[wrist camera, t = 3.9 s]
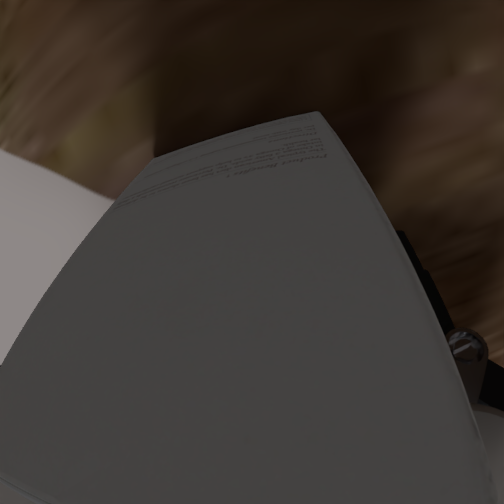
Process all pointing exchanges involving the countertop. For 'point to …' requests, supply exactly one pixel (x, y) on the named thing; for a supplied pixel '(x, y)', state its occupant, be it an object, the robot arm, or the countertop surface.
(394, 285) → the supplement box
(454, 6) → the countertop surface
